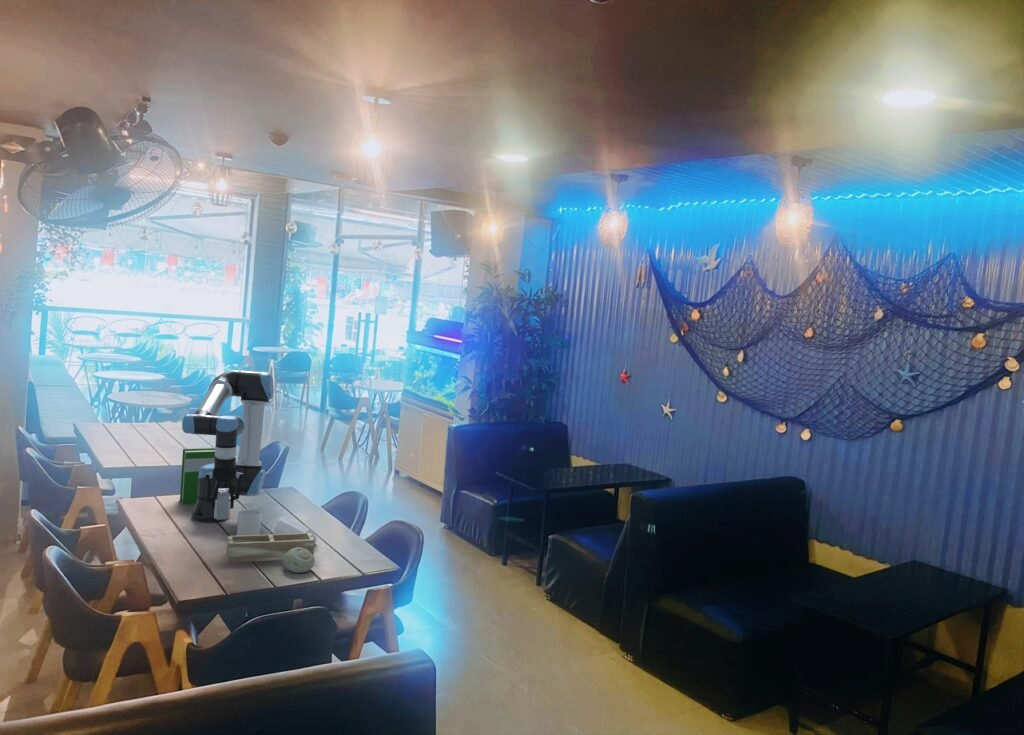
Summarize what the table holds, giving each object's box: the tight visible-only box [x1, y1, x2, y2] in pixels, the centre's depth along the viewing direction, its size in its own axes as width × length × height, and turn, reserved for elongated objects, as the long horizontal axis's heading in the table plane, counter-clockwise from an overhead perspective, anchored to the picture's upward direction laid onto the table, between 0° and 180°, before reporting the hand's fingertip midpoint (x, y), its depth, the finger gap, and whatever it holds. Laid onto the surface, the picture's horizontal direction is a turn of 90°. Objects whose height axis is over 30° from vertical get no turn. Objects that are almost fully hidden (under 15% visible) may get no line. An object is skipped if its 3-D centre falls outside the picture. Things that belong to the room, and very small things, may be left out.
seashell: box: [282, 547, 316, 574], centre depth 265 cm, size 13×8×10 cm
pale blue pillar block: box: [216, 488, 230, 520], centre depth 276 cm, size 6×4×11 cm, turn 24°
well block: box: [226, 532, 315, 564], centre depth 275 cm, size 10×30×7 cm, turn 114°
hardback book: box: [179, 447, 216, 505], centre depth 335 cm, size 18×7×24 cm, turn 124°
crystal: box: [273, 515, 317, 545], centre depth 297 cm, size 7×7×24 cm
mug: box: [236, 508, 262, 535], centre depth 292 cm, size 12×9×11 cm
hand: (221, 516), depth 277 cm, fingers closed on pale blue pillar block, 4 cm apart
